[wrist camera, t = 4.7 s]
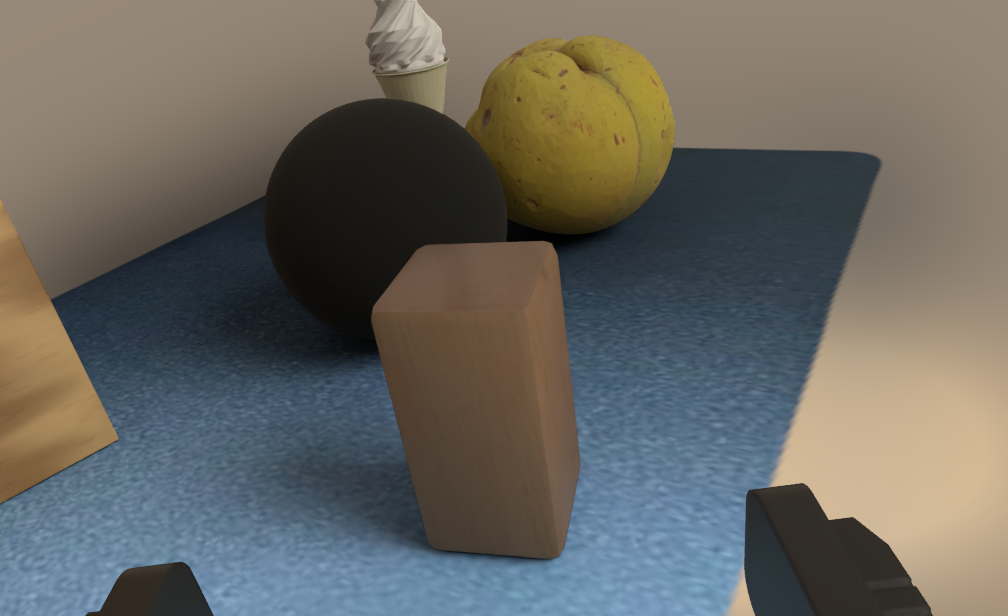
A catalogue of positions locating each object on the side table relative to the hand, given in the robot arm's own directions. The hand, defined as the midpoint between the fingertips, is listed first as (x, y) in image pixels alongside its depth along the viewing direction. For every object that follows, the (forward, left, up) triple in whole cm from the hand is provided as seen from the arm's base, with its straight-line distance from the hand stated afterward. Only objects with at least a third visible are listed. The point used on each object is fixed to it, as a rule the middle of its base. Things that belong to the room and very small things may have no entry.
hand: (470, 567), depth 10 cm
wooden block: (+6, +6, -8) cm, 12 cm away
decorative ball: (+12, +18, -8) cm, 23 cm away
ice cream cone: (+26, +32, -8) cm, 42 cm away
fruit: (+24, +18, -8) cm, 31 cm away
